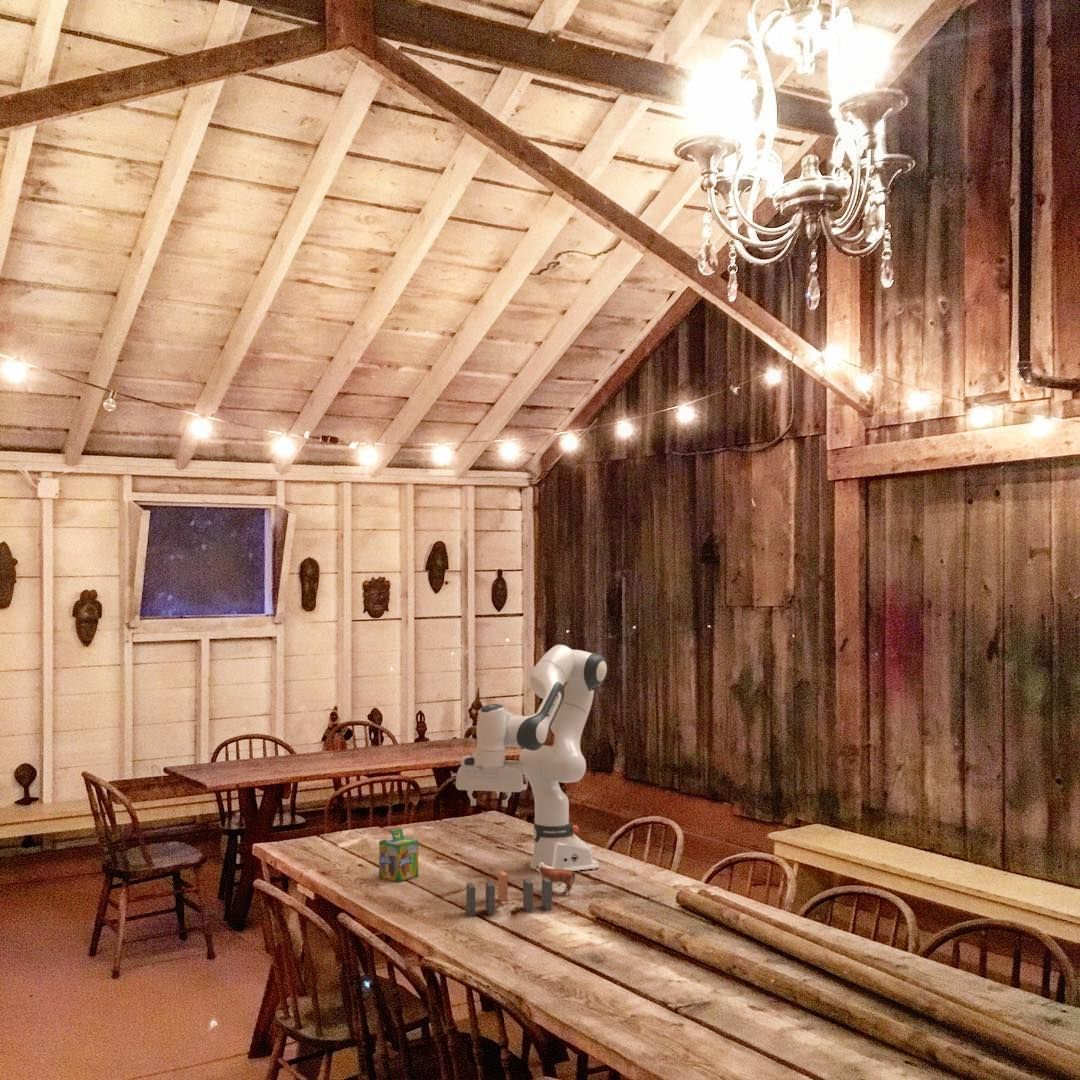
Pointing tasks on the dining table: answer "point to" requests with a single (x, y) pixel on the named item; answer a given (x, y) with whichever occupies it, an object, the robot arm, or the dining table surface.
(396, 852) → the chalk box
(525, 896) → the domino
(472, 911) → the domino
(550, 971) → the dining table surface
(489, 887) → the domino
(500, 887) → the domino
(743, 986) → the dining table surface
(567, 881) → the bull figurine
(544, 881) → the domino
